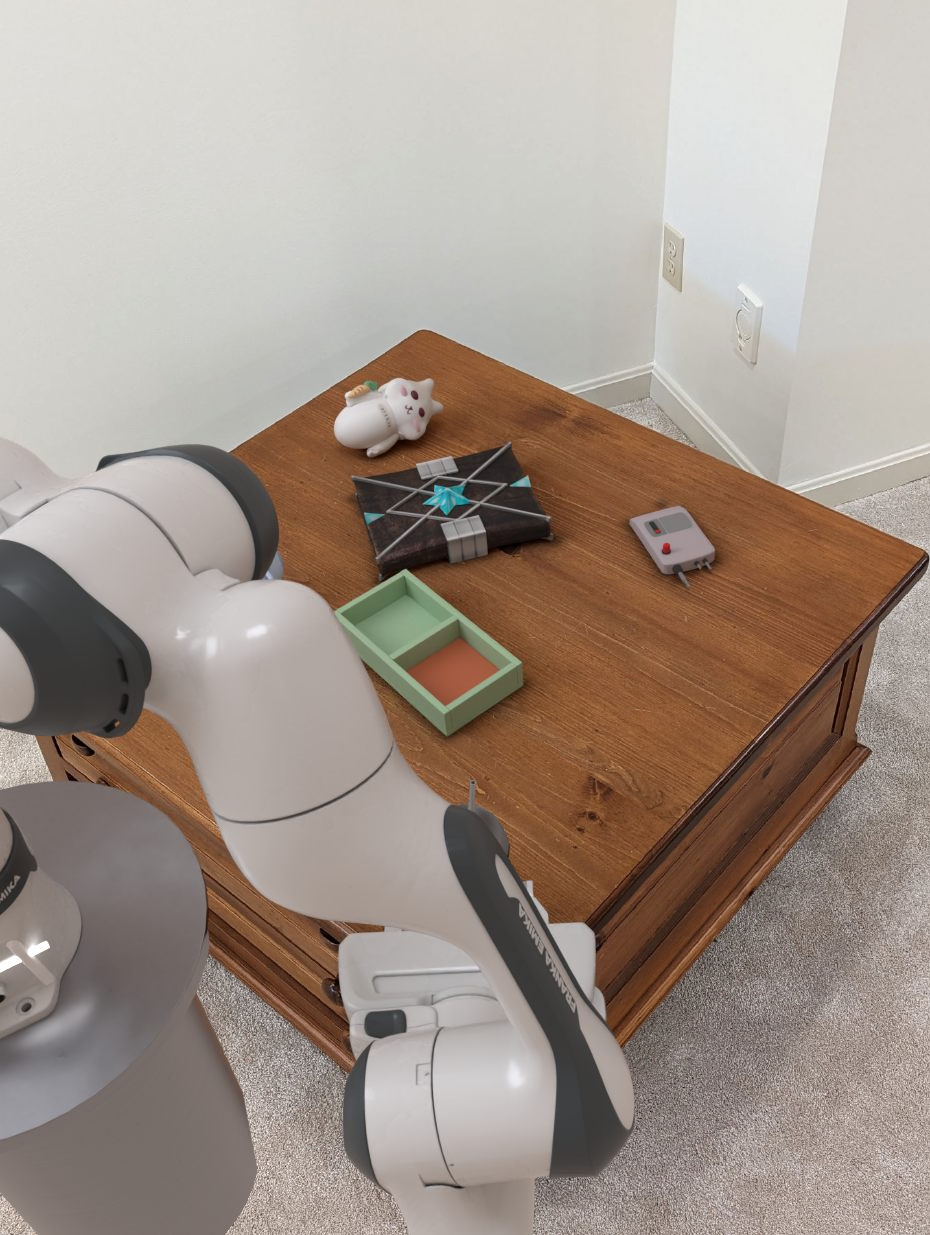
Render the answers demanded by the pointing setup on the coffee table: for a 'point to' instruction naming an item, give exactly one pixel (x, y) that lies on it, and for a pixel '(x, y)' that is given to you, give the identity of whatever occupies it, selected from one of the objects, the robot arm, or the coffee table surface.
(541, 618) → the coffee table surface
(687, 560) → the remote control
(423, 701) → the divided tray
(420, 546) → the book
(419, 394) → the cat figurine
